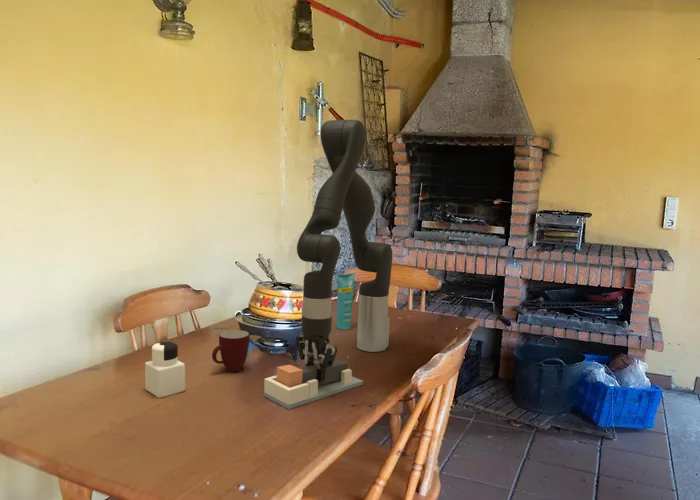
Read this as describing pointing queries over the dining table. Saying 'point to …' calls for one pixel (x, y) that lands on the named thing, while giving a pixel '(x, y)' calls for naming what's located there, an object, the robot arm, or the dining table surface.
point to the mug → (232, 349)
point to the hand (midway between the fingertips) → (315, 379)
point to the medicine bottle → (164, 370)
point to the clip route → (307, 390)
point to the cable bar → (308, 373)
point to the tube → (345, 300)
